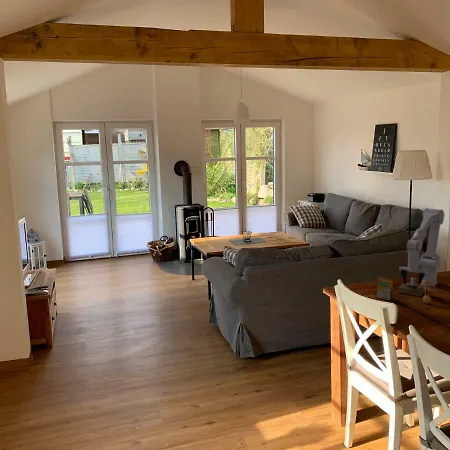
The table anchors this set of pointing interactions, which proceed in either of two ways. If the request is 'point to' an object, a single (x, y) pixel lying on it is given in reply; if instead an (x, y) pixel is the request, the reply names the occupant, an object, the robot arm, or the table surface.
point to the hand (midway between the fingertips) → (412, 284)
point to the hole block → (411, 289)
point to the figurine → (426, 298)
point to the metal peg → (412, 282)
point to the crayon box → (384, 288)
